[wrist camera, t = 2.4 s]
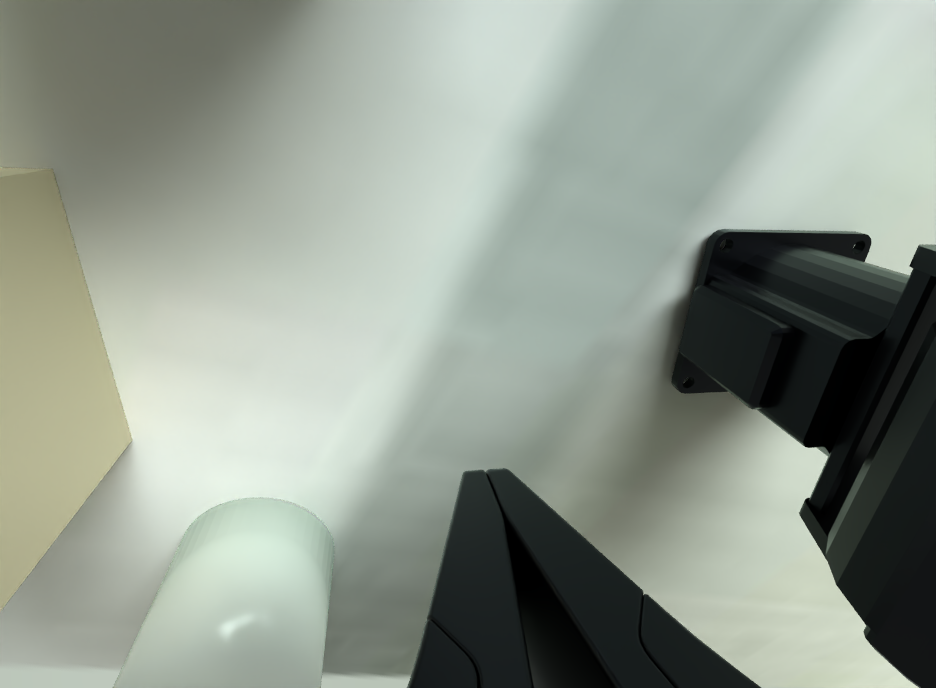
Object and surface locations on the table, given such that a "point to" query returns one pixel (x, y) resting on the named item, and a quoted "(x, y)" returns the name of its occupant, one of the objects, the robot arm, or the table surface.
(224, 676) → the white rounded cylinder
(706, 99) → the table surface
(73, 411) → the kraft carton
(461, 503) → the robot arm
